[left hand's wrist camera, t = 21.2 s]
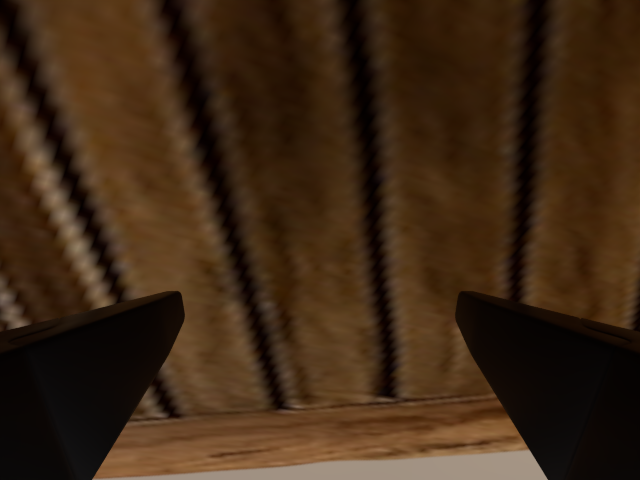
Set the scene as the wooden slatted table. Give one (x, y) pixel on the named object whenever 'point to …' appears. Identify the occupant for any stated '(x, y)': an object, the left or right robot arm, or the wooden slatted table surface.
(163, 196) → the wooden slatted table surface
